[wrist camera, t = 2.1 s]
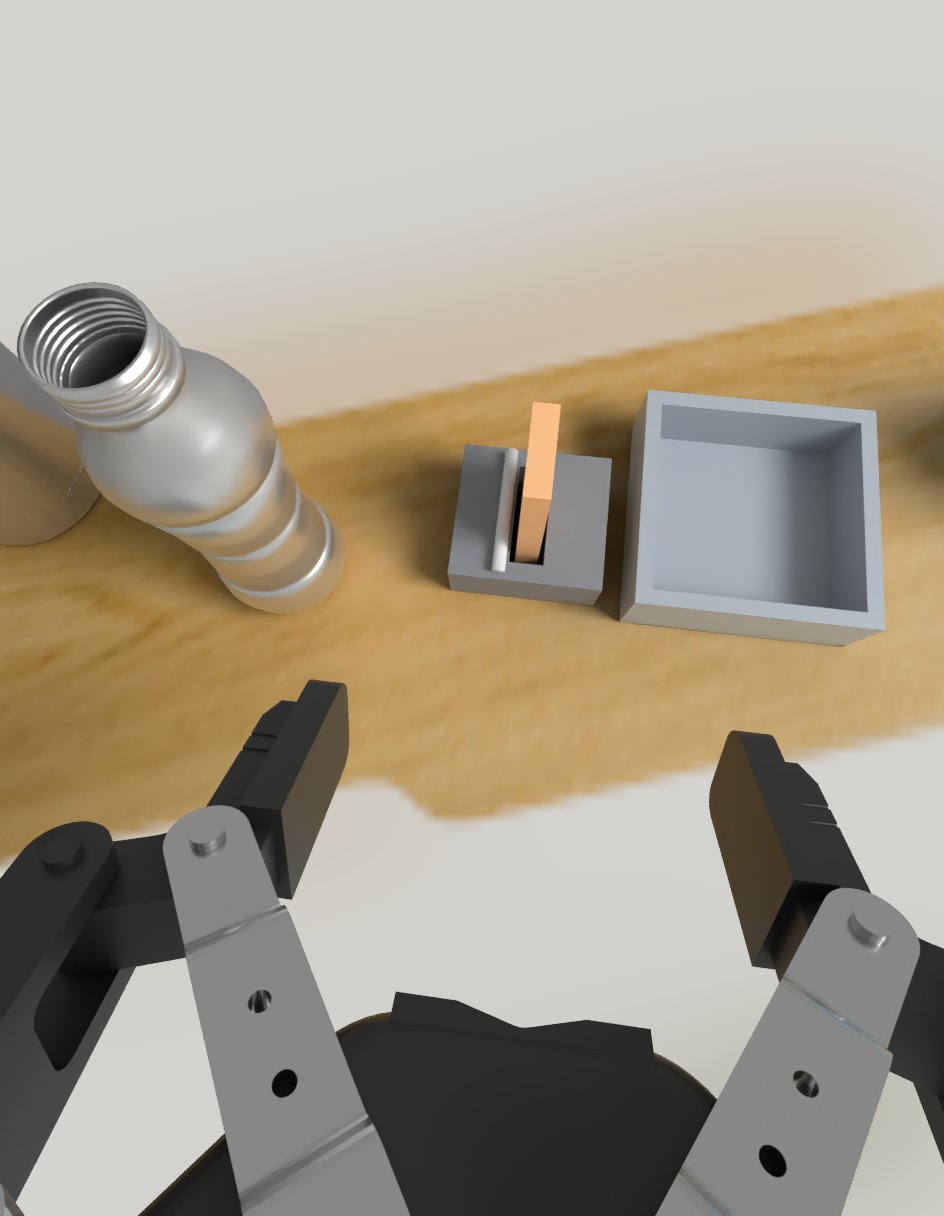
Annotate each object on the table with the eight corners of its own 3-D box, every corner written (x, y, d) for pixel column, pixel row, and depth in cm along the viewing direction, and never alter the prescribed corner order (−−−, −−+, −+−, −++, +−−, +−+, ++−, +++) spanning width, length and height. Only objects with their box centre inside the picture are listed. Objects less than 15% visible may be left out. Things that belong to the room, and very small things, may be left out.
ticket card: (513, 571, 36) (522, 496, 27) (521, 498, 38) (533, 401, 28) (534, 573, 36) (551, 499, 27) (542, 501, 38) (560, 404, 28)
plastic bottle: (241, 517, 38) (-19, 242, 18) (356, 514, 38) (216, 235, 18) (232, 624, 36) (-64, 445, 17) (352, 622, 36) (194, 439, 17)
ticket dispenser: (450, 590, 36) (446, 569, 33) (467, 469, 38) (465, 437, 35) (592, 605, 36) (604, 586, 32) (602, 483, 38) (614, 452, 34)
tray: (619, 621, 36) (635, 602, 32) (631, 428, 39) (647, 389, 35) (841, 646, 35) (885, 630, 31) (836, 448, 38) (876, 410, 34)
